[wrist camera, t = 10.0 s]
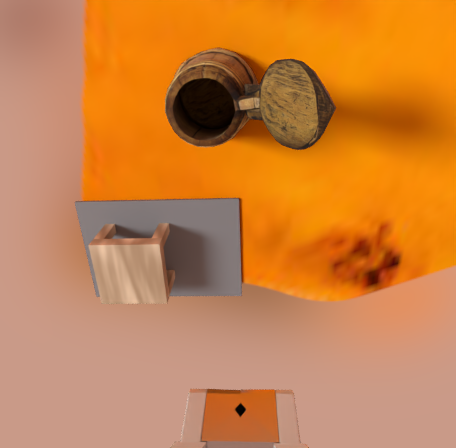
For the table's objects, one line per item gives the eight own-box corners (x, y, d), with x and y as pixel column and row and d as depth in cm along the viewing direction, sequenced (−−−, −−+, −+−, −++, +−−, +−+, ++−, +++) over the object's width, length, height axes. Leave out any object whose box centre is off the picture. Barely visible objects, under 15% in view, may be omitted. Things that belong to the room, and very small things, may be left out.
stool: (159, 244, 41) (88, 245, 42) (167, 303, 45) (101, 303, 45) (168, 223, 46) (105, 224, 47) (175, 277, 50) (116, 278, 50)
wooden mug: (302, 126, 41) (338, 179, 25) (181, 141, 42) (139, 201, 26) (297, 35, 37) (336, 28, 21) (164, 55, 38) (104, 63, 22)
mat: (238, 197, 45) (238, 198, 45) (241, 294, 51) (241, 295, 51) (75, 201, 46) (74, 202, 46) (97, 295, 52) (96, 296, 52)
